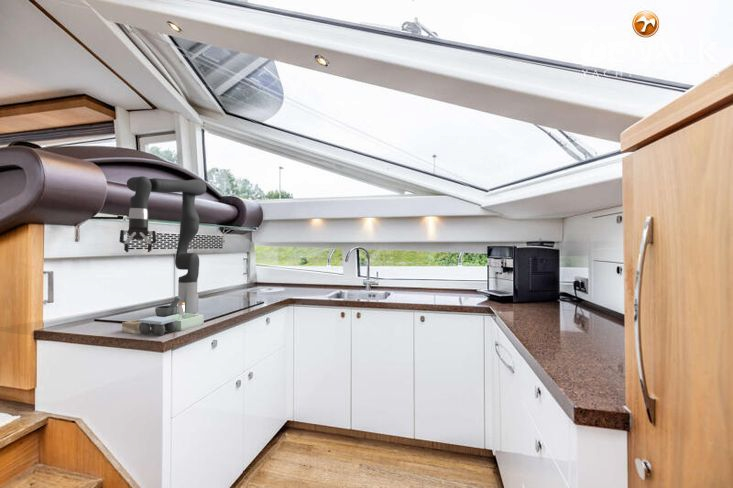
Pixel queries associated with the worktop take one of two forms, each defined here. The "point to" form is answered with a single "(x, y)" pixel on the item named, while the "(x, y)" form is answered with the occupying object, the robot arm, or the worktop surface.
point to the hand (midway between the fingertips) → (138, 252)
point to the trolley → (157, 325)
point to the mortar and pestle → (168, 308)
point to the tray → (187, 321)
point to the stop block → (131, 326)
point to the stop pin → (181, 310)
